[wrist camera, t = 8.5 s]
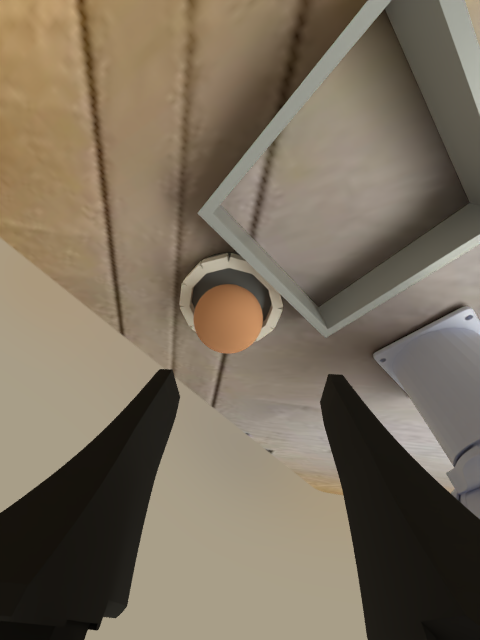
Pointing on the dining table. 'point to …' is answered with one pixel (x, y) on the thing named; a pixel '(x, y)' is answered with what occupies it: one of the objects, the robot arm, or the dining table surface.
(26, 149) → the dining table surface
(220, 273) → the ring
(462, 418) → the robot arm
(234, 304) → the orange ball
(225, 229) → the low pen
